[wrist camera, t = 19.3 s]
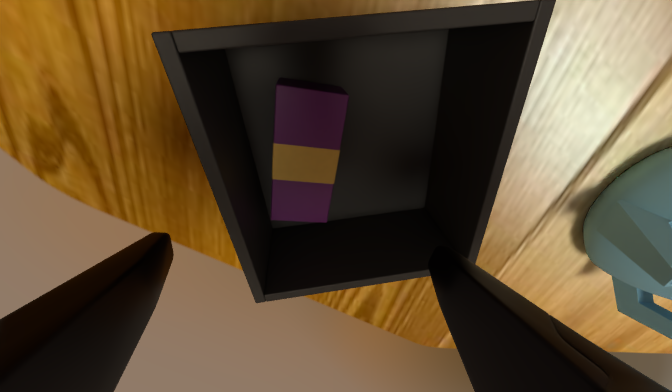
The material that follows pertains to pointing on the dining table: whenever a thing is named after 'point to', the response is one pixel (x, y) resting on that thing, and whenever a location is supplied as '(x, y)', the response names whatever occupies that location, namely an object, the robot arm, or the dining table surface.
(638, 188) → the teakettle
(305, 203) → the chocolate bar
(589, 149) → the dining table surface
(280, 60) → the waste bin
